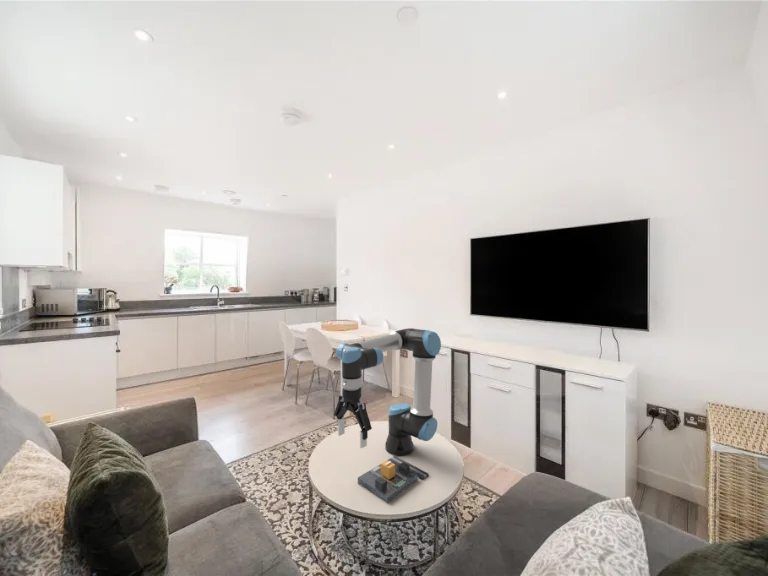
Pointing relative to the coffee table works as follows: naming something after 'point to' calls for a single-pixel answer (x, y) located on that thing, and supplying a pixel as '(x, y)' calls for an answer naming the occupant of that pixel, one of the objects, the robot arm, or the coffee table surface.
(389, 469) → the slider
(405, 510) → the coffee table surface
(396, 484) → the panel
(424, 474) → the grey cylinders
